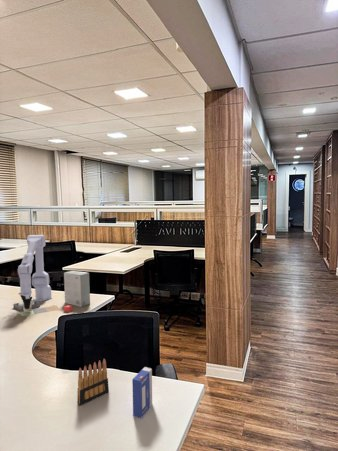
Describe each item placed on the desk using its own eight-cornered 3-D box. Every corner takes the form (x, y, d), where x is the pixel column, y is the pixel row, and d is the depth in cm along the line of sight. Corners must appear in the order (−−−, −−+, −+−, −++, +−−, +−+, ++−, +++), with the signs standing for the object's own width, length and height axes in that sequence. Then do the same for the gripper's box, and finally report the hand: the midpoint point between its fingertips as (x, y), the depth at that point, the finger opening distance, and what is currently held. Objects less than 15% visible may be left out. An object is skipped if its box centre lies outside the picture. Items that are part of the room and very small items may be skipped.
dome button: (30, 303, 204) (29, 299, 204) (37, 306, 198) (37, 302, 198) (15, 307, 197) (15, 303, 197) (22, 310, 191) (22, 306, 191)
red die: (67, 310, 192) (67, 304, 192) (71, 310, 191) (71, 305, 191) (64, 312, 189) (63, 306, 189) (68, 312, 188) (68, 306, 188)
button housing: (30, 303, 206) (30, 299, 205) (39, 307, 199) (39, 303, 198) (13, 308, 197) (13, 304, 197) (22, 312, 190) (21, 307, 190)
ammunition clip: (80, 406, 103) (78, 370, 102) (77, 403, 104) (76, 367, 103) (109, 392, 110) (108, 358, 109) (106, 390, 111) (105, 356, 110)
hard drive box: (90, 303, 204) (89, 272, 202) (81, 307, 197) (80, 275, 196) (73, 300, 212) (72, 270, 210) (64, 303, 206) (63, 272, 204)
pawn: (30, 308, 191) (30, 300, 191) (31, 310, 187) (31, 302, 187) (23, 309, 189) (23, 301, 189) (24, 311, 185) (23, 303, 185)
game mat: (56, 305, 201) (56, 305, 201) (59, 309, 193) (59, 309, 193) (19, 311, 190) (19, 311, 190) (21, 316, 183) (21, 316, 183)
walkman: (141, 418, 97) (140, 380, 96) (133, 415, 98) (132, 378, 97) (153, 403, 104) (152, 367, 103) (145, 401, 105) (144, 365, 104)
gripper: (16, 283, 191) (17, 305, 192) (19, 288, 179) (20, 312, 180) (29, 281, 195) (30, 303, 196) (33, 286, 182) (34, 310, 183)
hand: (26, 307), depth 188 cm, fingers closed on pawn, 4 cm apart
